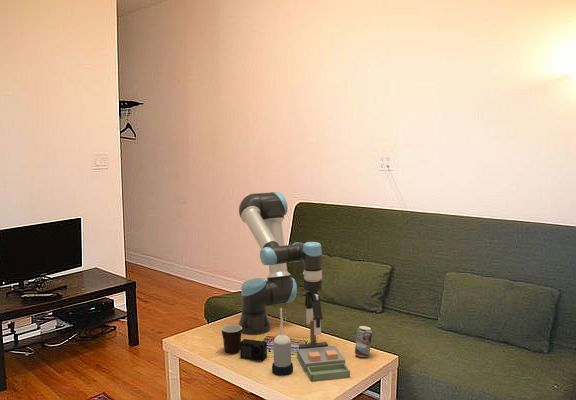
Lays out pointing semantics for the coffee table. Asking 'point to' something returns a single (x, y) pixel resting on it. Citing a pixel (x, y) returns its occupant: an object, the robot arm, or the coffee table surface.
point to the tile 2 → (331, 354)
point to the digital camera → (253, 350)
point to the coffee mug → (232, 338)
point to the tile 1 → (314, 356)
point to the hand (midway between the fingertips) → (313, 329)
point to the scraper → (312, 340)
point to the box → (328, 372)
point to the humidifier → (282, 353)
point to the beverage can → (363, 341)
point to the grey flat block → (305, 362)
